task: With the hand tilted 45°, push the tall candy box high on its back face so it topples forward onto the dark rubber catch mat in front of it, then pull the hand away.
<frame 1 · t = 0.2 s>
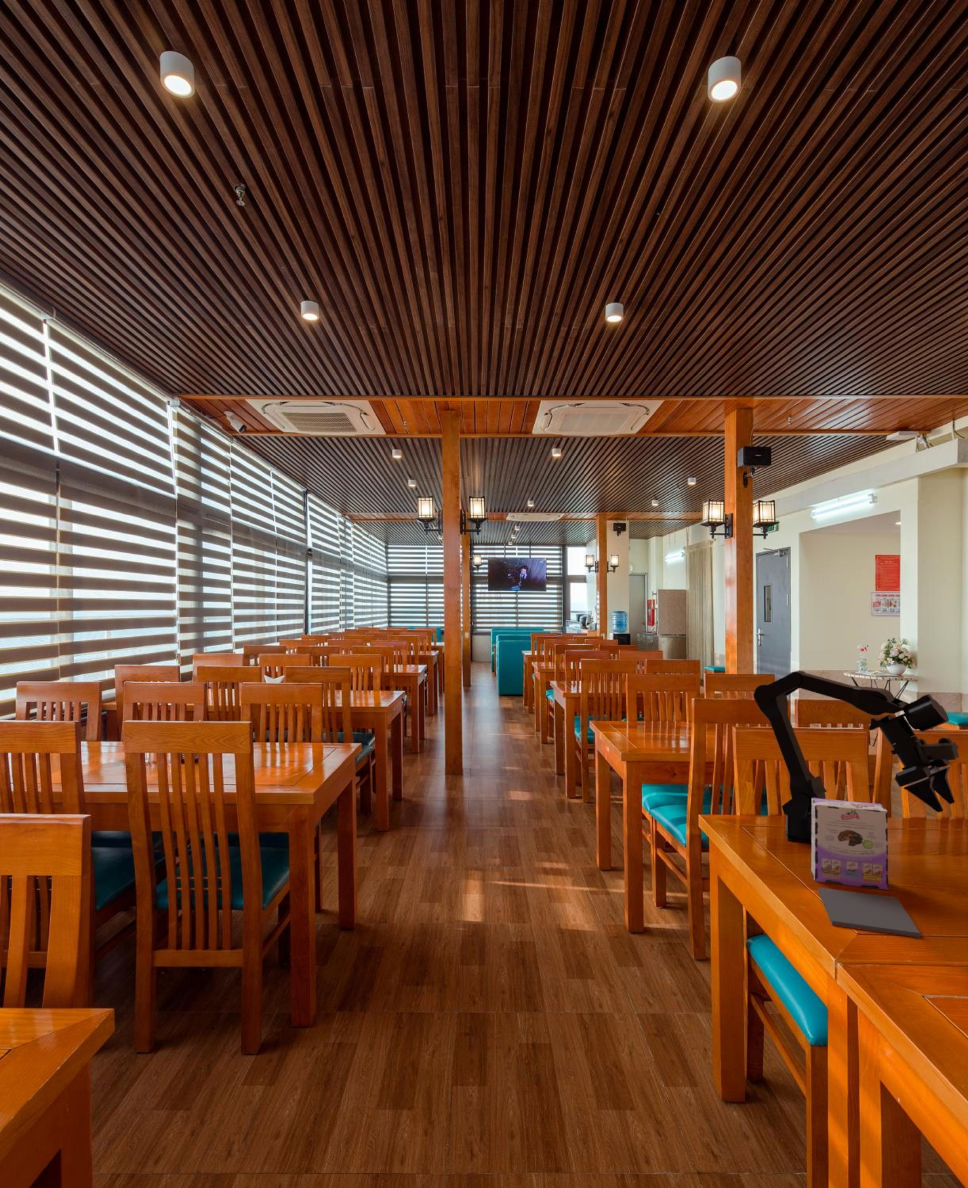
hand: (946, 807, 146), 15 cm above the table, tool tilted 30°, fingers open, 9 cm apart
candy box: (848, 881, 142), on the table
catch mat: (865, 912, 127), on the table
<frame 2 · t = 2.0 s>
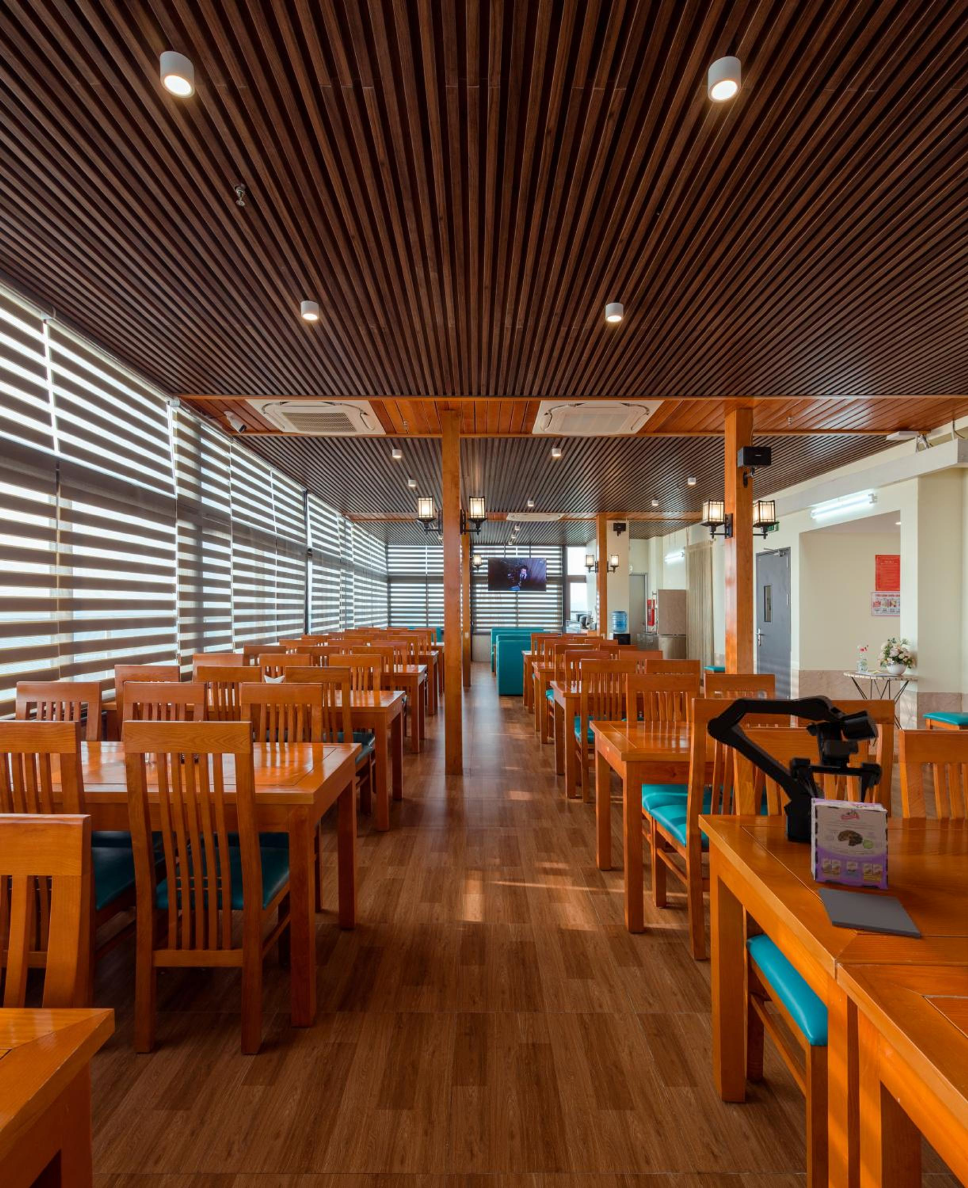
hand: (839, 803, 152), 14 cm above the table, tool tilted 45°, fingers open, 9 cm apart
nothing on the table moved.
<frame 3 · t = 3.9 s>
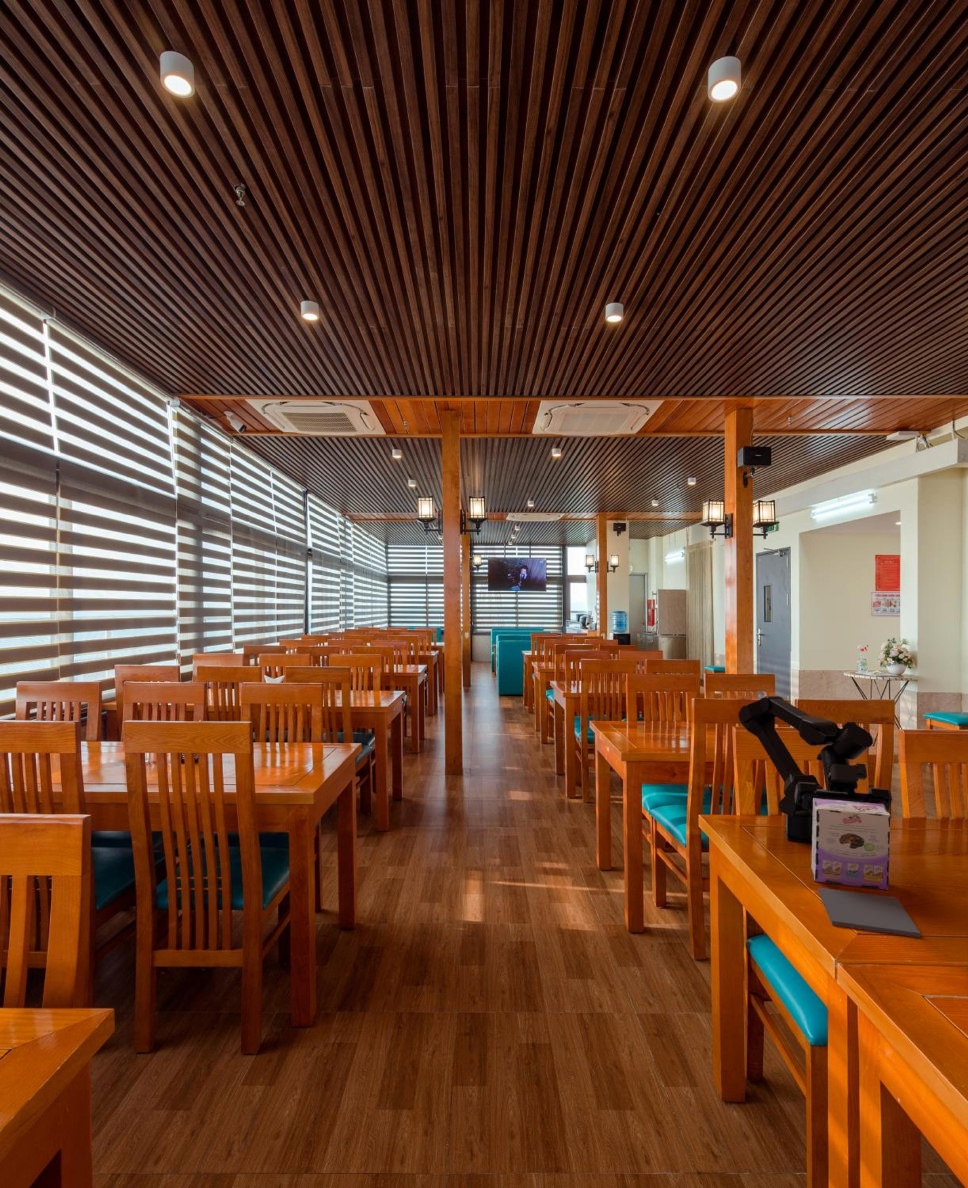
hand: (847, 831, 144), 10 cm above the table, tool tilted 45°, fingers open, 9 cm apart
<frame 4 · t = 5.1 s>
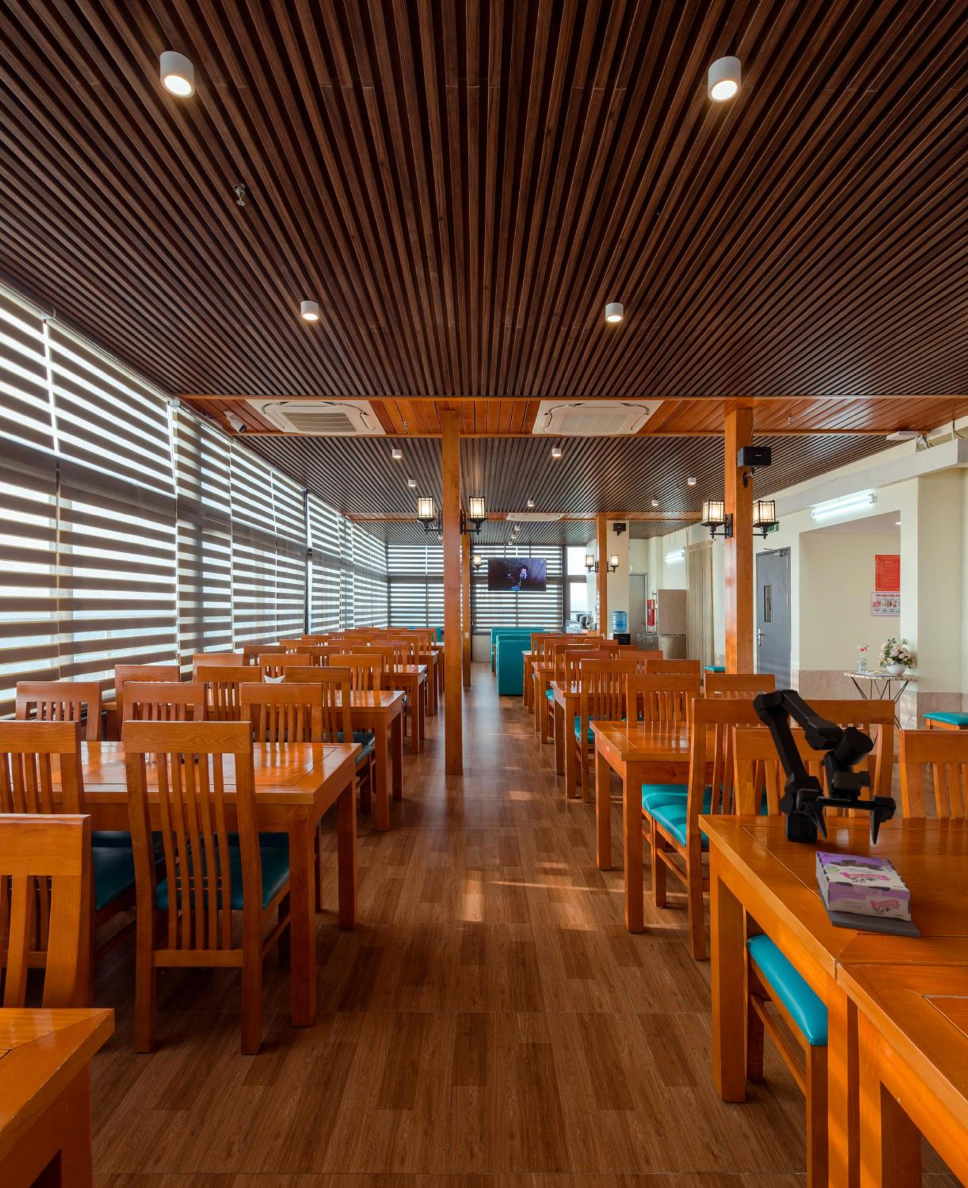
hand: (850, 840, 141), 9 cm above the table, tool tilted 45°, fingers open, 9 cm apart
candy box: (851, 867, 140), point 4 cm above the table, touching catch mat
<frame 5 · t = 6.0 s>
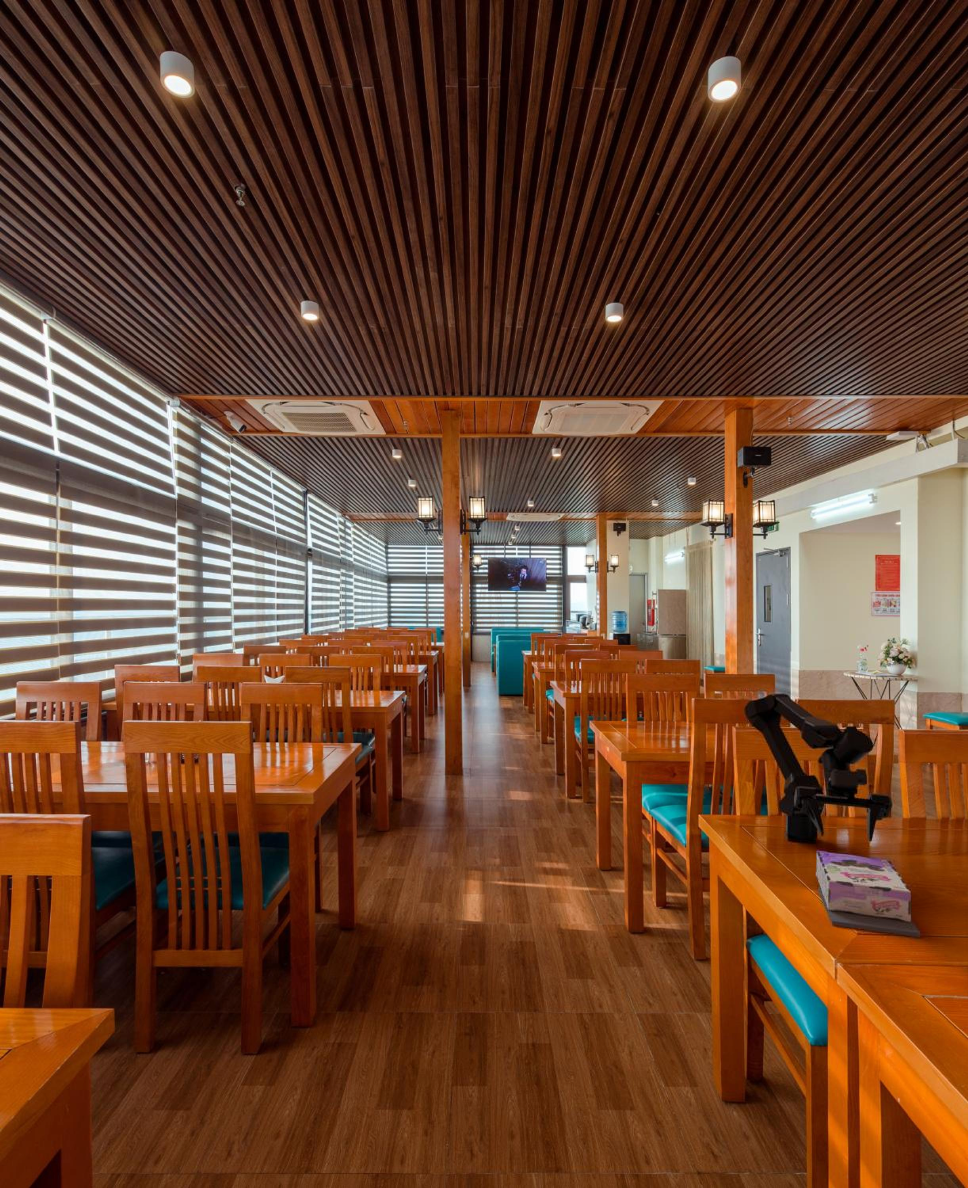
hand: (846, 837, 143), 9 cm above the table, tool tilted 45°, fingers open, 9 cm apart
nothing on the table moved.
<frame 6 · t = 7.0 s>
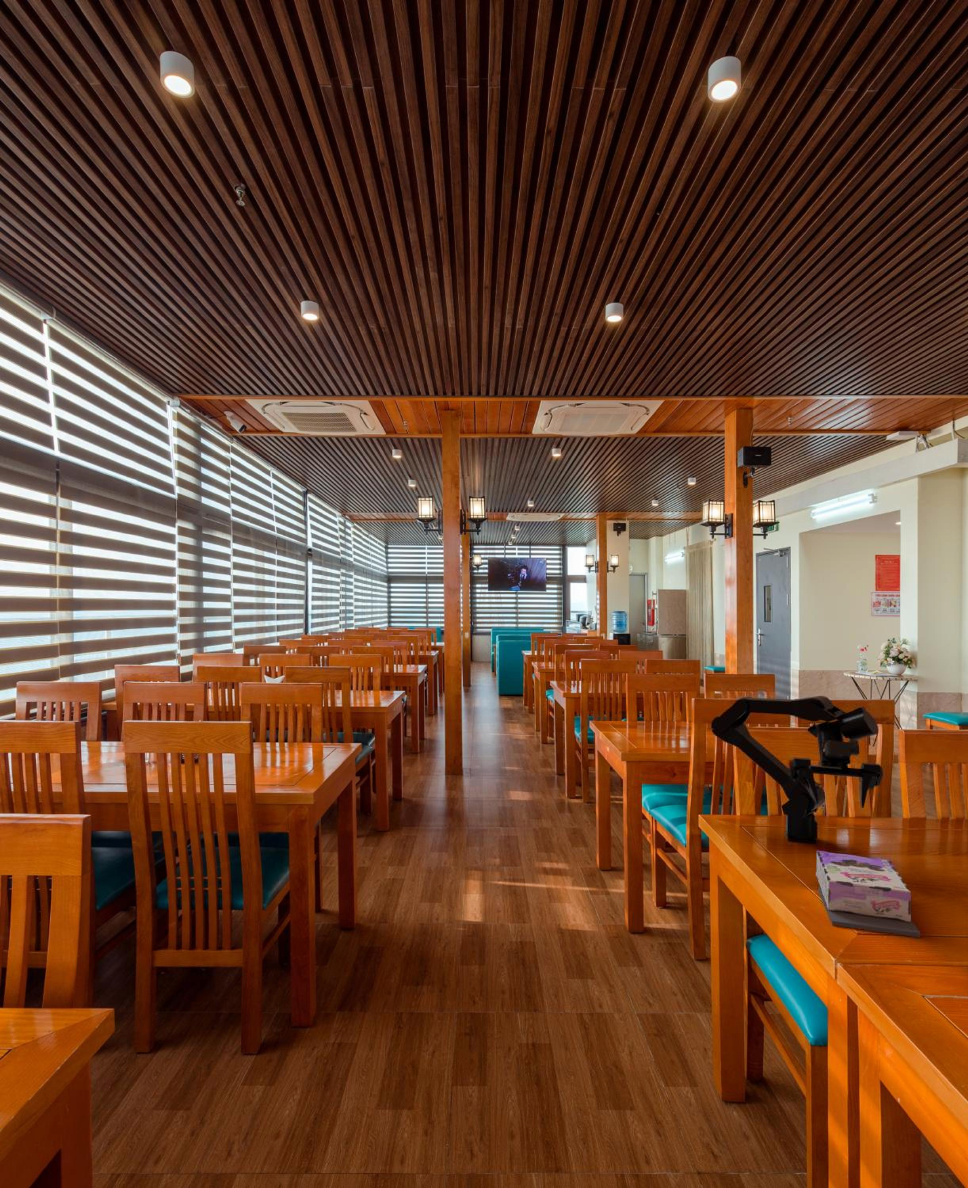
hand: (839, 805, 151), 14 cm above the table, tool tilted 45°, fingers open, 9 cm apart
nothing on the table moved.
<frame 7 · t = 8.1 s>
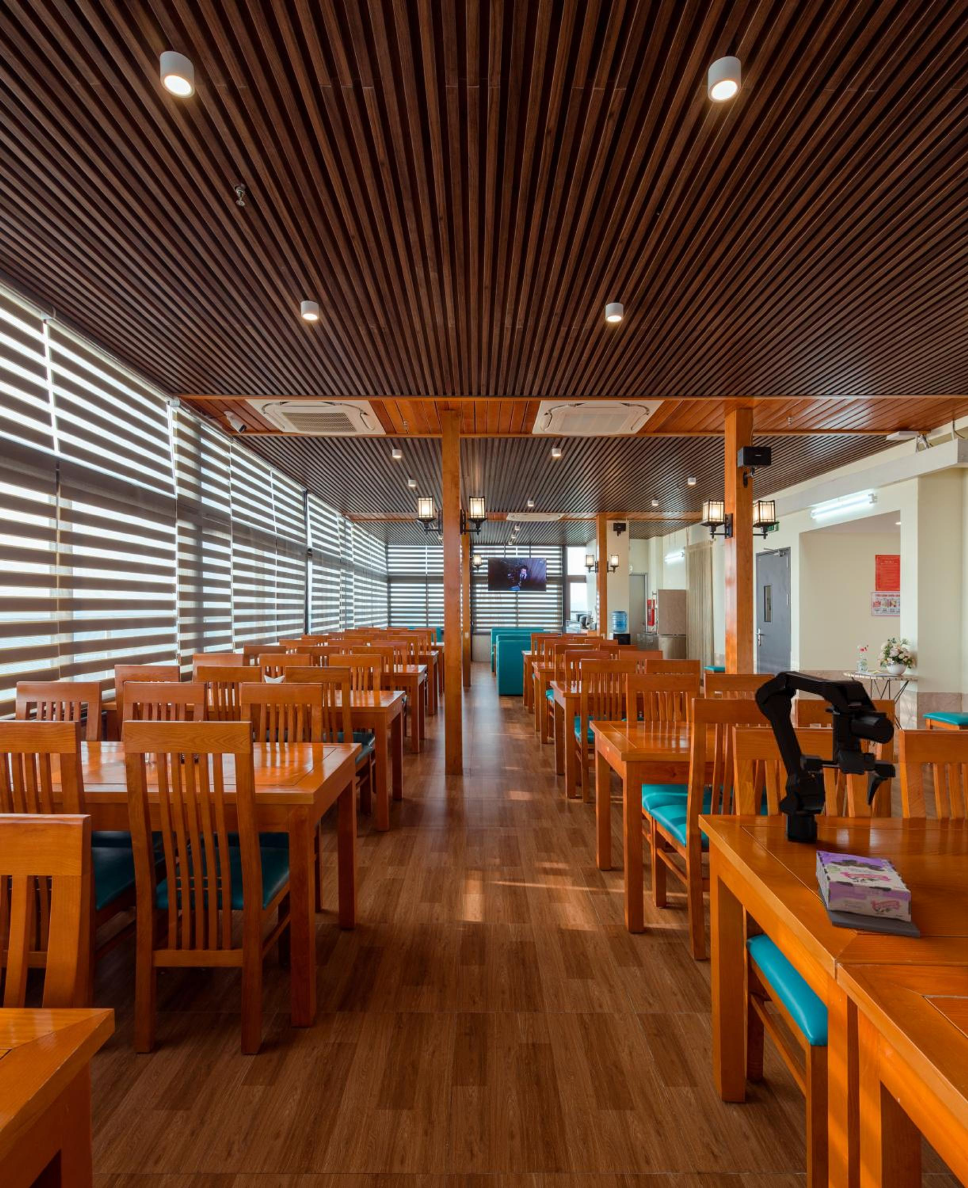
hand: (846, 803, 154), 13 cm above the table, tool pointing down, fingers open, 9 cm apart
nothing on the table moved.
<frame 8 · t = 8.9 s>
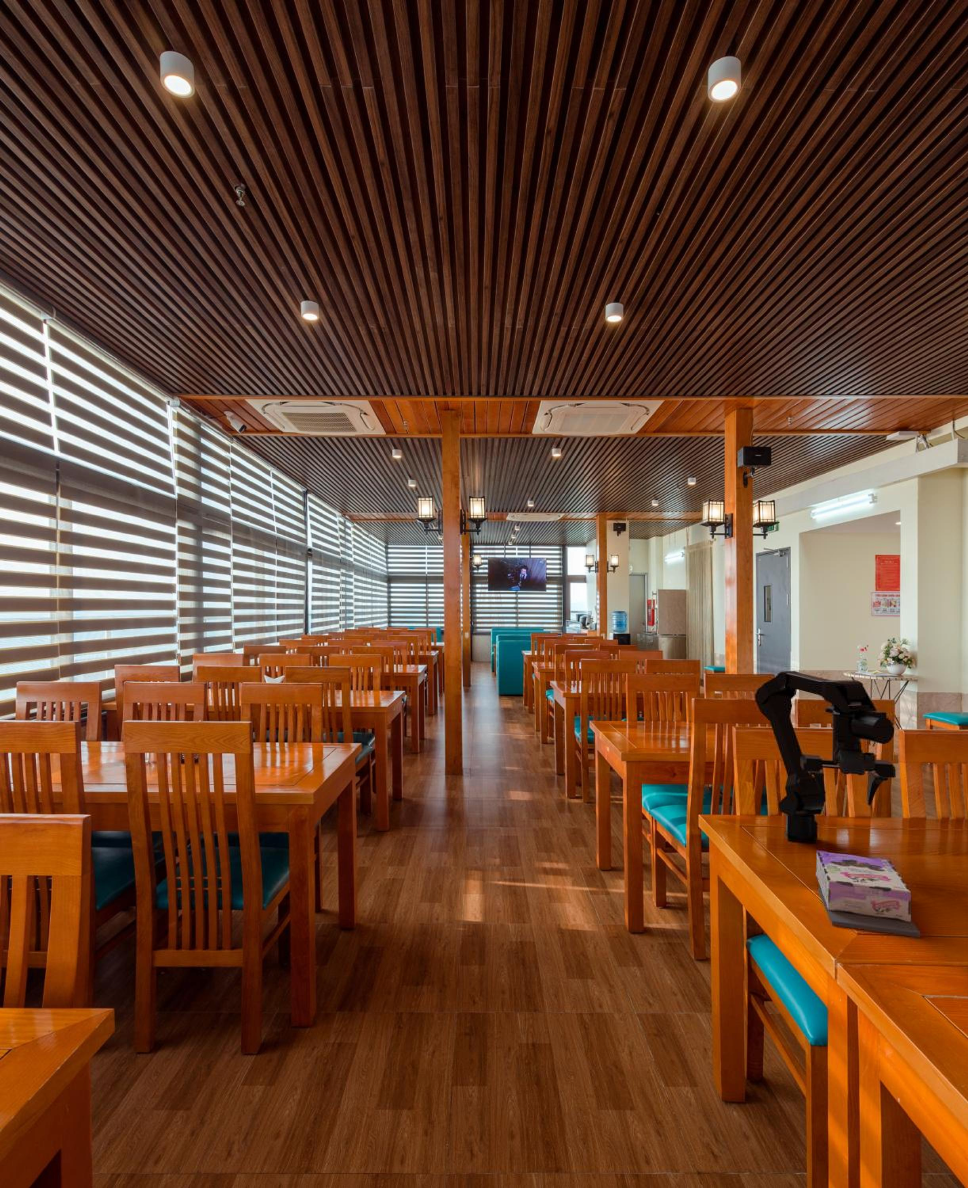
hand: (846, 803, 154), 13 cm above the table, tool pointing down, fingers open, 9 cm apart
nothing on the table moved.
at the end: candy box tilted 90°; candy box touching catch mat; candy box inside the target area (0.6 cm from its centre), point 3.7 cm above the table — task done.
